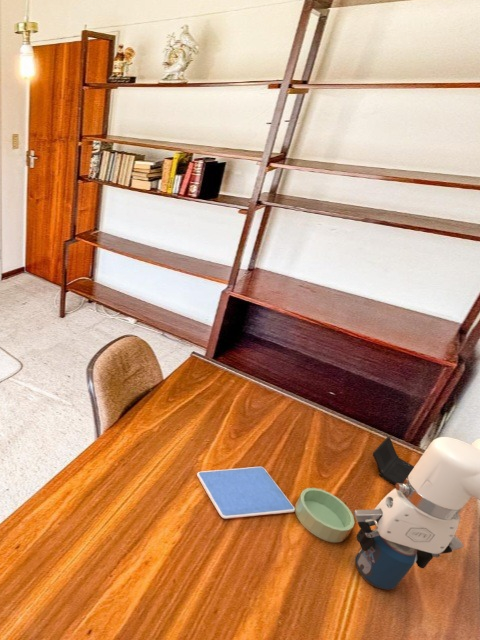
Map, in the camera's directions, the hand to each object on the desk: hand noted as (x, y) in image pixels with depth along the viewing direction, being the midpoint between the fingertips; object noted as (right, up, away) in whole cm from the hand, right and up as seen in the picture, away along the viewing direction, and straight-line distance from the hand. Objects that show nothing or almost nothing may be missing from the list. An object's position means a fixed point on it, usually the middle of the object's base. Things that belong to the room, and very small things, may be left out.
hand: (388, 552), depth 80 cm
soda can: (0, -7, +3) cm, 8 cm away
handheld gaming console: (+26, +3, +27) cm, 38 cm away
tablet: (-19, +1, +20) cm, 27 cm away
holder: (-4, -2, +14) cm, 14 cm away
